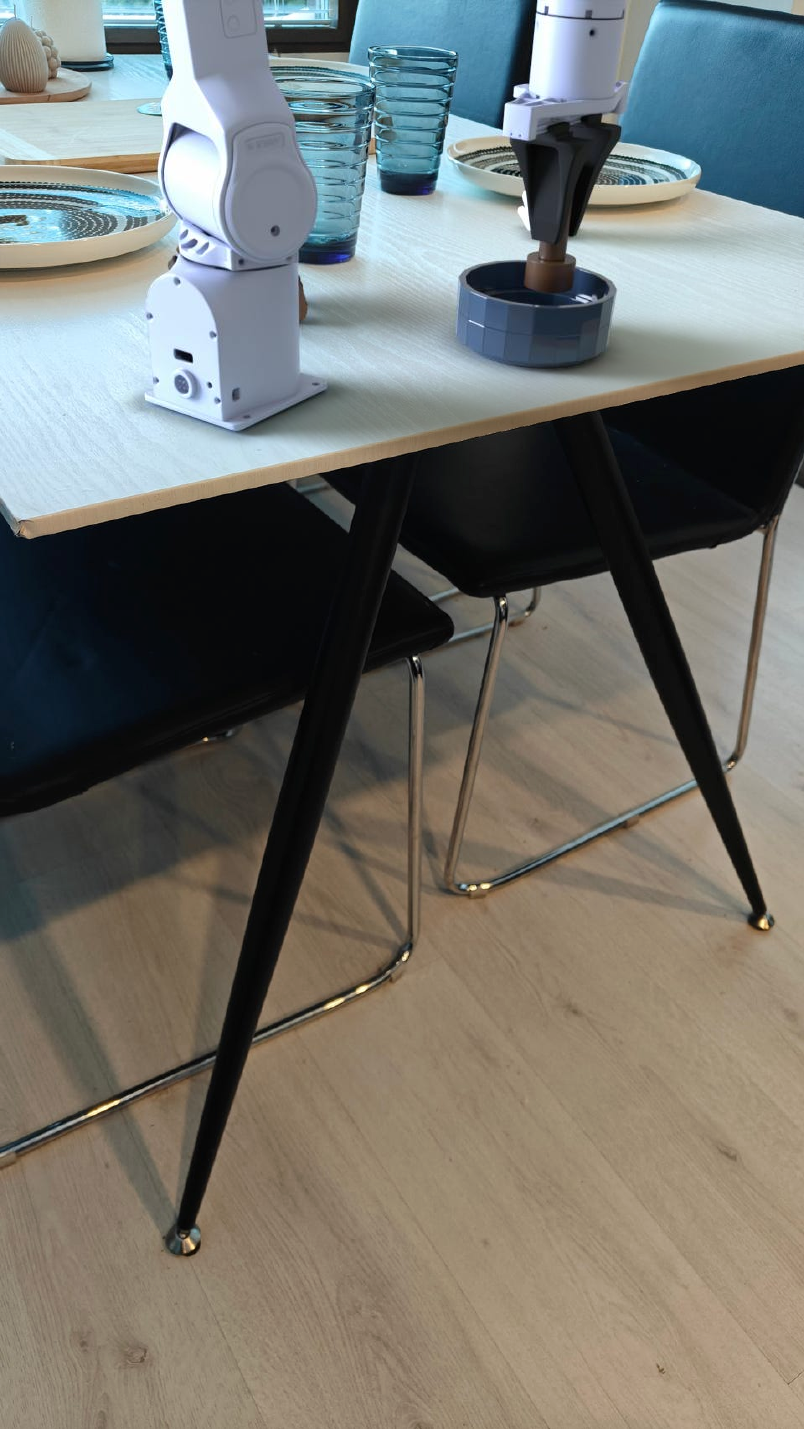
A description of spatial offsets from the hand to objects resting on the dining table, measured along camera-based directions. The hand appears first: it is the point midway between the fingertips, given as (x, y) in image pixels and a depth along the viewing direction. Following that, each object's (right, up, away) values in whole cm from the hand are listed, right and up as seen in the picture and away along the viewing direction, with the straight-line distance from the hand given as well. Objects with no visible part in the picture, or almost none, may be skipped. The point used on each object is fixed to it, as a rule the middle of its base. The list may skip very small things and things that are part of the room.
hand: (554, 237), depth 79 cm
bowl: (-1, -7, +3) cm, 8 cm away
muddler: (0, -3, +2) cm, 3 cm away
